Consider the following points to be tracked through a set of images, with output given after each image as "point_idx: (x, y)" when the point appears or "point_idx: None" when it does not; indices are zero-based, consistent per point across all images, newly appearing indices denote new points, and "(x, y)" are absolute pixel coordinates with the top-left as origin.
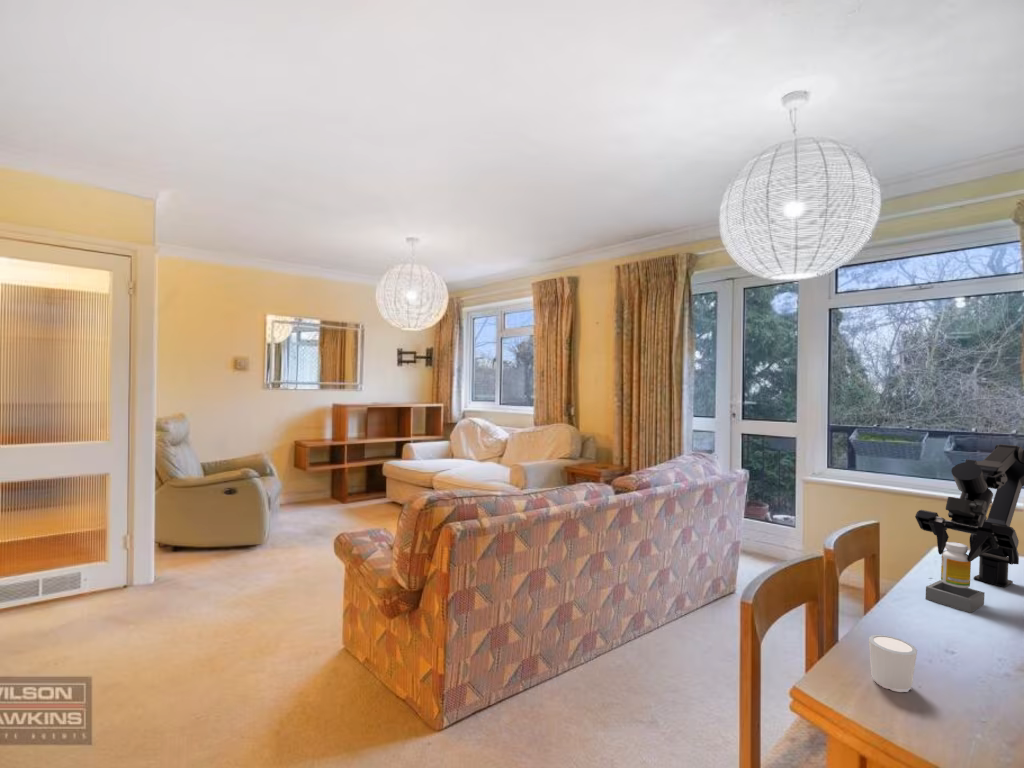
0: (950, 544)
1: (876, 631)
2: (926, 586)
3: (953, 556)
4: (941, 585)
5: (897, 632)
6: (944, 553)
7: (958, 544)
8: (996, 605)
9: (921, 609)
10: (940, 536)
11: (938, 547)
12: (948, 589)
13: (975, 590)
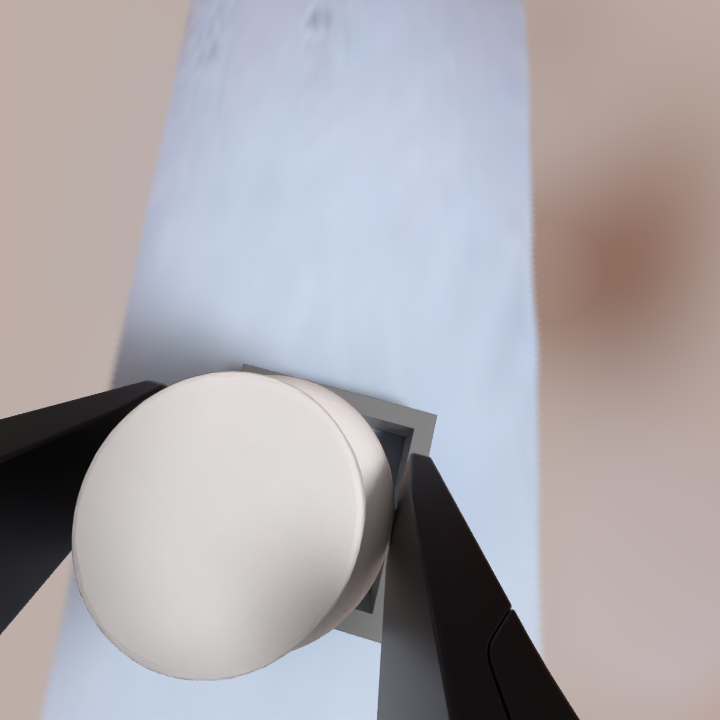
0: (301, 405)
1: (487, 15)
2: (435, 420)
3: (287, 377)
4: (377, 583)
5: (443, 42)
6: (368, 431)
7: (192, 521)
8: None
9: (419, 276)
10: (476, 648)
11: (440, 486)
12: None
13: None
